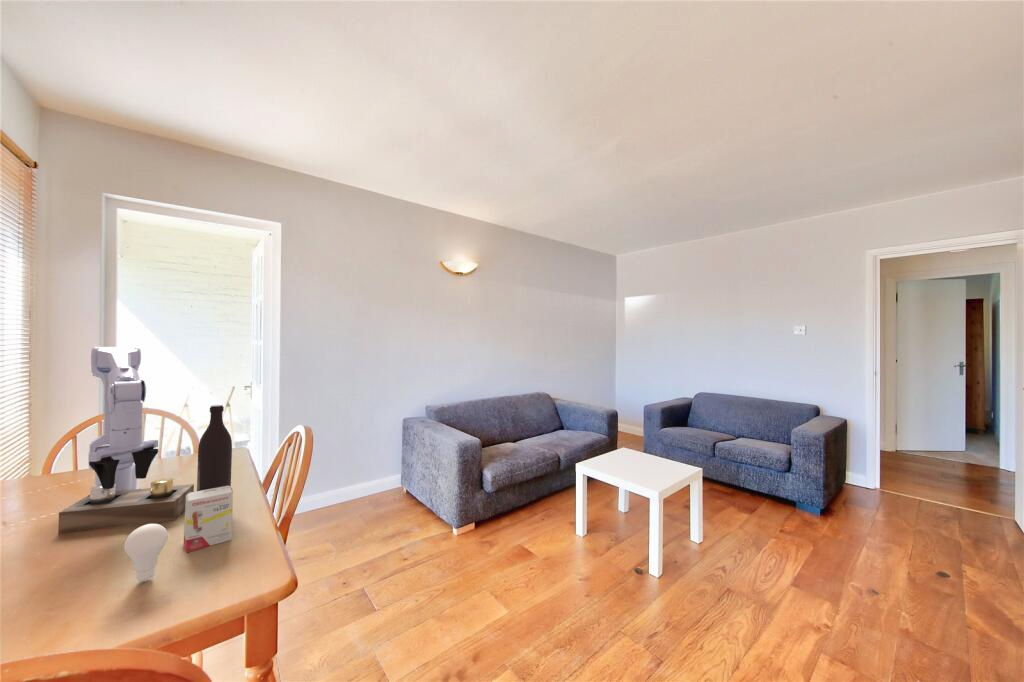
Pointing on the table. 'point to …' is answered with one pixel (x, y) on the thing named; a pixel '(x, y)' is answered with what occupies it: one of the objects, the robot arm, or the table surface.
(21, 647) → the table surface
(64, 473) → the table surface
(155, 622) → the table surface
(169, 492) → the brass peg
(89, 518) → the peg board
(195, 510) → the ink box
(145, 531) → the lightbulb
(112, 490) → the steel peg
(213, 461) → the wine bottle
